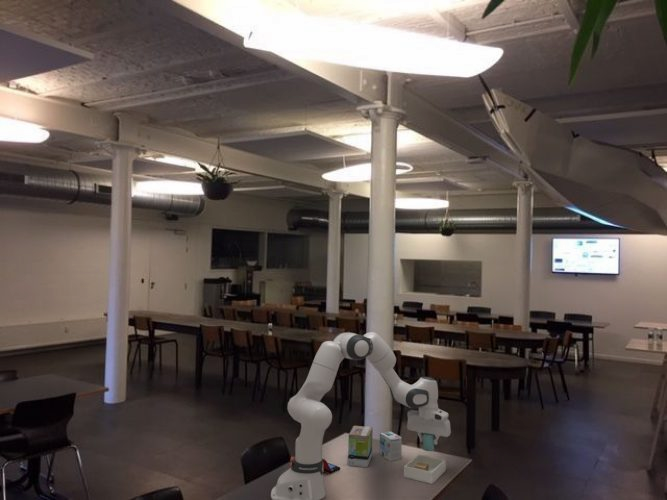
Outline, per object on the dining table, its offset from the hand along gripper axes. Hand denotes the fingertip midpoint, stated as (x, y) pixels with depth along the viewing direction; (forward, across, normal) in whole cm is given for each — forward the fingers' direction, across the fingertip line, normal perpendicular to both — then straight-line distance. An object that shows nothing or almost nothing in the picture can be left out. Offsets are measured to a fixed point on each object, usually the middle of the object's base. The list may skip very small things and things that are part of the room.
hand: (428, 442), depth 239 cm
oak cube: (+12, 0, -8) cm, 15 cm away
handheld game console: (+13, -42, -24) cm, 50 cm away
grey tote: (+13, 0, -4) cm, 14 cm away
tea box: (+13, -33, -6) cm, 36 cm away
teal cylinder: (+3, 0, 0) cm, 3 cm away
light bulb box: (+13, -23, +7) cm, 27 cm away
